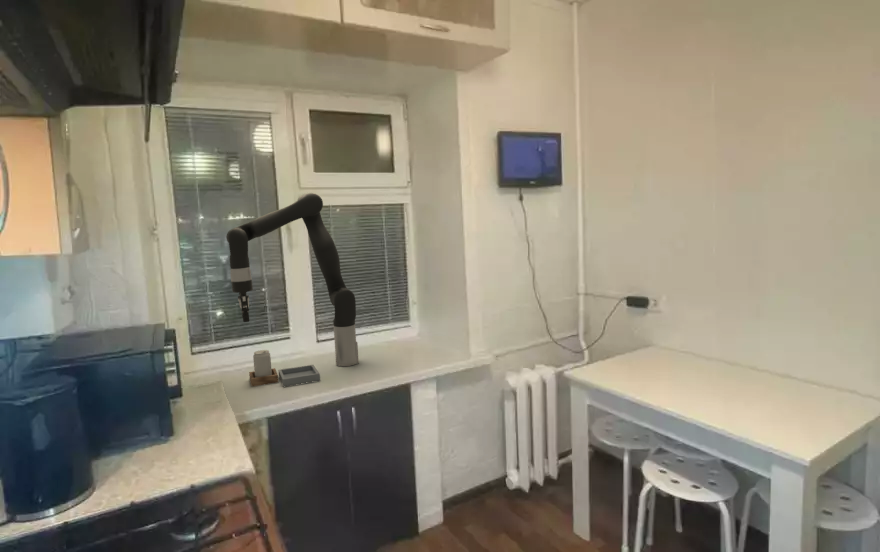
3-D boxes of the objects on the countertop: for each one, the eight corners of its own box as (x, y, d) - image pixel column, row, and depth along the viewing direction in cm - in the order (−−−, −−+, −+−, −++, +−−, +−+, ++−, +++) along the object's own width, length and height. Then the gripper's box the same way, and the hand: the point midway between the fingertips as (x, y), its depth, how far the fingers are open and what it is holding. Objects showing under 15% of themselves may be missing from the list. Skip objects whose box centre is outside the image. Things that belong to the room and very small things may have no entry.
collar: (275, 375, 211) (275, 368, 211) (278, 382, 202) (277, 374, 202) (249, 379, 207) (249, 372, 207) (251, 386, 198) (250, 379, 198)
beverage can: (267, 383, 201) (264, 353, 199) (252, 383, 202) (249, 353, 201) (275, 378, 207) (273, 349, 206) (260, 378, 208) (258, 349, 207)
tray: (313, 371, 214) (313, 364, 214) (320, 380, 202) (319, 373, 201) (278, 376, 209) (278, 369, 208) (283, 387, 196) (282, 379, 196)
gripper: (252, 280, 195) (257, 321, 198) (250, 276, 209) (254, 315, 211) (231, 282, 193) (236, 324, 195) (230, 278, 206) (235, 318, 208)
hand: (245, 319), depth 203 cm, fingers open, 8 cm apart
